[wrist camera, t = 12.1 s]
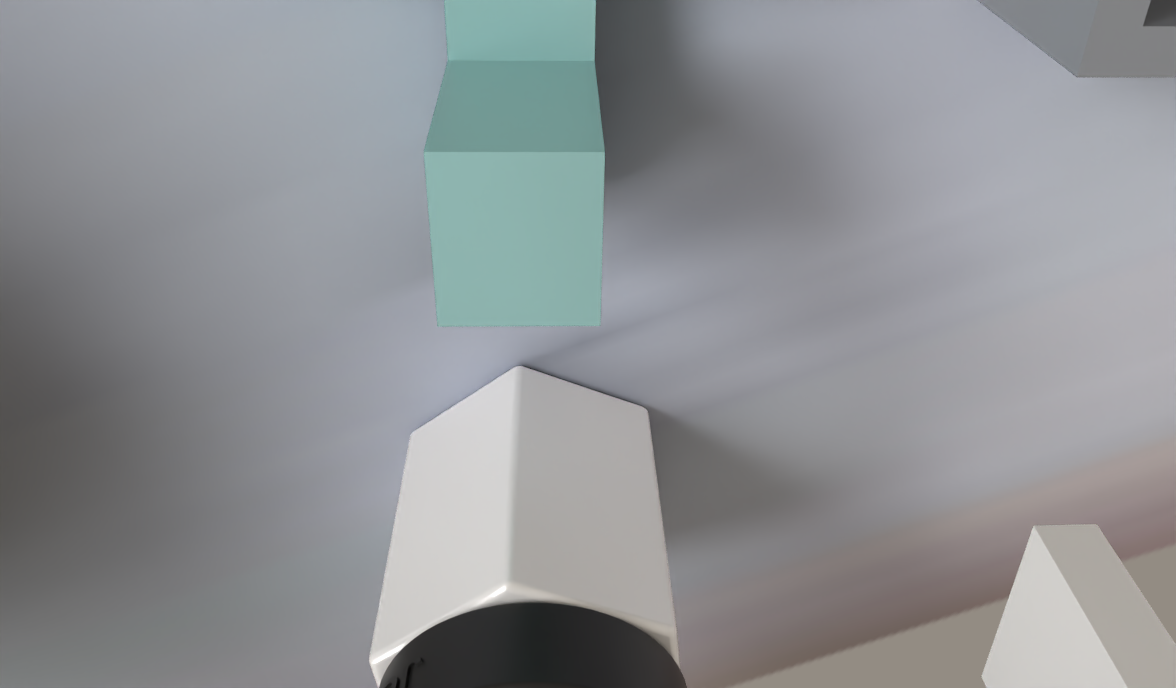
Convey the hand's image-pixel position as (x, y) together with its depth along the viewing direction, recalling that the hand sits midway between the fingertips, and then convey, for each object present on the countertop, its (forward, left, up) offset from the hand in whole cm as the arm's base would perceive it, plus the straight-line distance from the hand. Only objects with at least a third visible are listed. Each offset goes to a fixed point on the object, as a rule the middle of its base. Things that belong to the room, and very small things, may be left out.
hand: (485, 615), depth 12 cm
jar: (0, -13, -18) cm, 22 cm away
